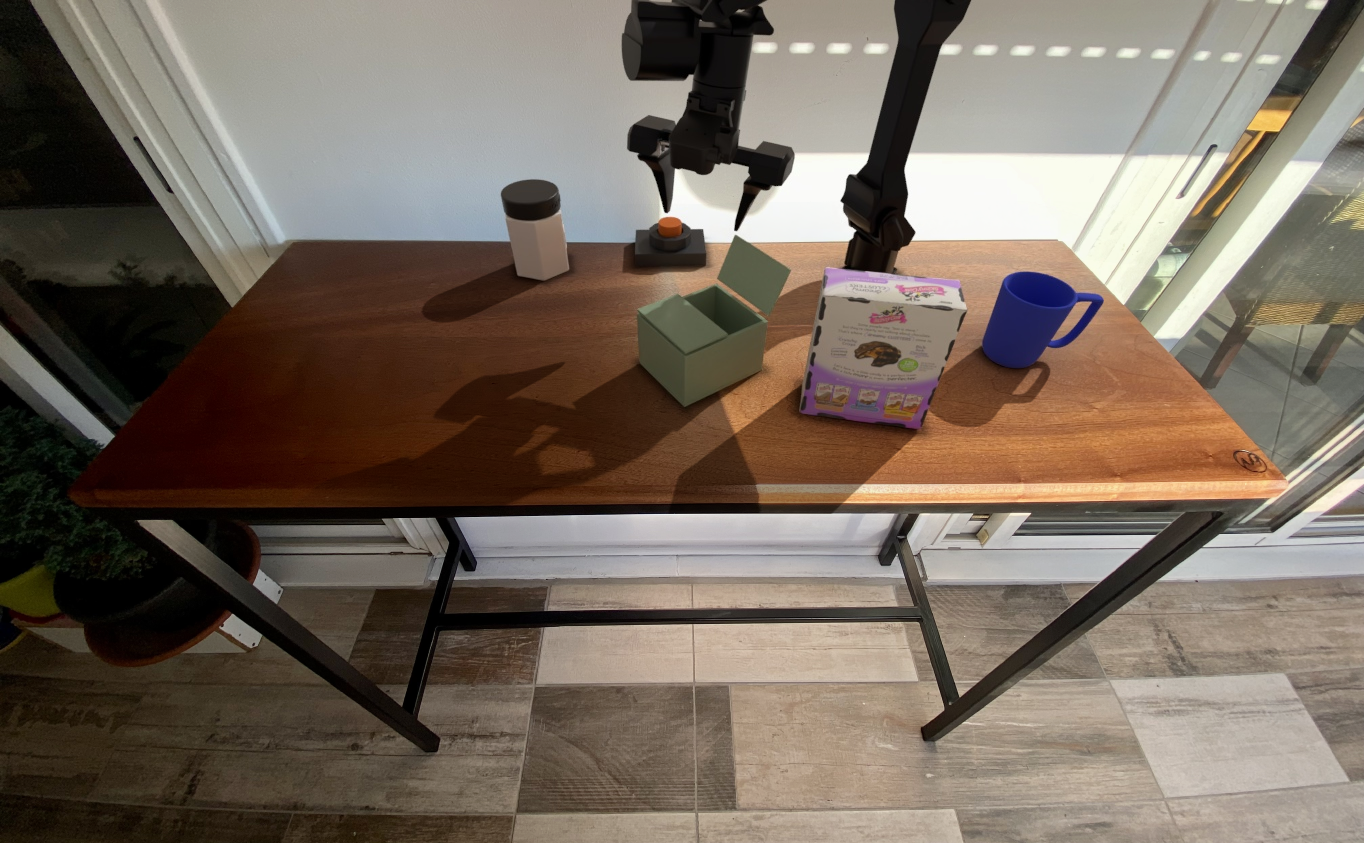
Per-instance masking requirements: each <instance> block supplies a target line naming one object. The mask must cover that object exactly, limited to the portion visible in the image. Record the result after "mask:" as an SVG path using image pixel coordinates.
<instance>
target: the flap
mask: <svg viewBox="0 0 1364 843" xmlns="http://www.w3.org/2000/svg"><path fill="white" fill-rule="evenodd" d="M791 272H792V269H791V268H789V267H788V266H786V265H785V264H783V263H782V262H780V261H778V260H777V259H775V258H774V257H772V256H771V255H769V254H767V253H766V252H764V251H763V250H762V249H760V248H758V247H756V246H755V245H754V244H752V243H750V242H749V241H747V240H745V239H744V238H742V237H740V236H739V235H738V234H734V236H733V238H732V240H731V243H730V246H729V248H728V251H727V253H726V256H725V257H724V261H723V262H722V265H721V268H720V270H719V272H718V275H717V277H716V280H718V281H719V282H720V283H722V284H723V285H724V286H726V287H727V288H729V289H730V290H731V291H733V292H734V293H736V294H737V295H738V296H740V297H741V298H742V299H743V300H745V301H746V302H748V304H749V303H750V305H752V306H753V307H755V308H756V309H757V310H759V311H760V312H762V313H763V314H764V315H766V316H767V317H770V316H771V314H772V312H773V310H774V308H775V307H776V304H777V302H778V300H779V298H780V295H781V293H782V291H783V290H784V287H785V285H786V282H787V280H788V279H789V276H790V274H791Z"/></svg>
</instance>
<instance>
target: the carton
mask: <svg viewBox="0 0 1364 843" xmlns="http://www.w3.org/2000/svg"><path fill="white" fill-rule="evenodd" d="M636 311H637V312H638V313H636V323H637V324H636V326H637V343H638V360H639V364H640V365H641V366H642V367H643V368H644V369H645V370H646V371H647V372H648V373H649V374H650V375H651V376H652V377H653V378H654V379H655V380H656V381H657V382H658V383H659V384H660V385H661V386H662V387H663V388H665V390H666V391H667V392H668V393H669V394H670V395H672V397H674V399H675V400H676V401H677V402H679V404H680V405H681V406H682V407H683V408H685V407H688V406H690V405H692V404H694V403H696V402H698V401H700V400H702V399H704V398H706V397H708V396H711V395H713V394H715V393H717V392H719V391H721V390H724V389H725V388H727V387H729V386H731V385H734V384H736V383H738V382H740V381H742V380H744V379H747V378H748V377H750V376H753V375H755V374H757V373H758V372H761V371H762V370H763V364H764V358H765V356H764V355H765V348H766V341H767V334H768V325H769V321H768V320H767V319H766V318H765V317H764V316H763V315H761V314H759V313H758V312H757V311H756V310H754V309H753V308H751V307H750V306H749V305H747V304H746V303H745V302H743V301H741V300H740V299H739V298H738V297H736V296H735V295H734V294H732V293H731V292H729V291H728V290H727V289H725V288H724V287H723V286H721V285H720V284H718V282H717V283H714V284H711V285H709V286H706V287H704V288H701V289H698V290H696V291H693V292H690V293H688V294H686V295H682V296H681V295H680V294H679V293H675V294H673V295H671V296H667V297H665V298H663V299H660V300H657V301H654V302H652V303H649V304H647V305H643V306H641V307H638V308H637V309H636Z"/></svg>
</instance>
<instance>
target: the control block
mask: <svg viewBox="0 0 1364 843" xmlns="http://www.w3.org/2000/svg"><path fill="white" fill-rule="evenodd" d="M705 240H706V239H705V232H704V228H692V227H690V226H689V225H687V224H686V223H684V222H682V232H681V235H679V236H676V237H664V236H661V235H659V231H658V222H656V223H654V224H653V225H651V226H650V227H649V228H648V229H635V240H634V244H635V245H634V266H635V267H699V266H700V267H703V266H704V267H706V265H707V248H706V241H705Z"/></svg>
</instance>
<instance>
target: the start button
mask: <svg viewBox="0 0 1364 843" xmlns="http://www.w3.org/2000/svg"><path fill="white" fill-rule="evenodd" d="M657 223H658V231H659V235H661V236H664V237H676V236H679V235H681V232H682V223H683V222H682V220H681V219H680V218H679V217H677V216H665V217H661V218H659V220H658V221H657Z"/></svg>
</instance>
